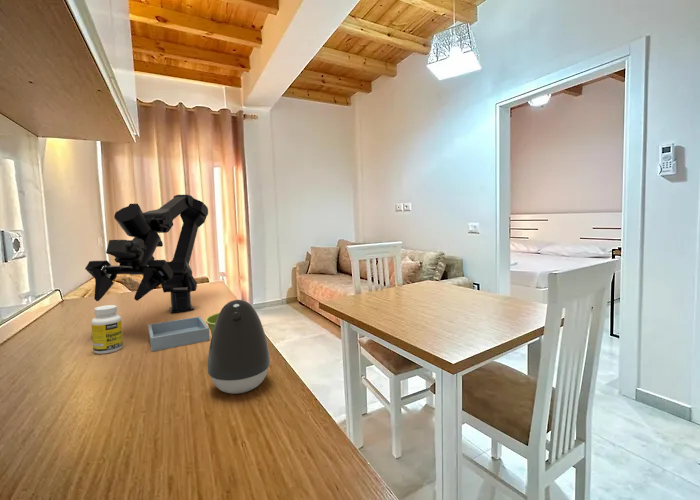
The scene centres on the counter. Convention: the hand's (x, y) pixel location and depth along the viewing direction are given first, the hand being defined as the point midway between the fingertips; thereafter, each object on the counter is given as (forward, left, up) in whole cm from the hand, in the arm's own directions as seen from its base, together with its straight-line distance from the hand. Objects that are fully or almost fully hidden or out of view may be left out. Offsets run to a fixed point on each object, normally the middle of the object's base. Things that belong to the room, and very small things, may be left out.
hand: (116, 299), depth 78 cm
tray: (+4, +12, -10) cm, 16 cm away
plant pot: (+23, +20, -11) cm, 32 cm away
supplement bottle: (+3, -2, -11) cm, 11 cm away
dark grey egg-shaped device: (+37, +18, -11) cm, 43 cm away
